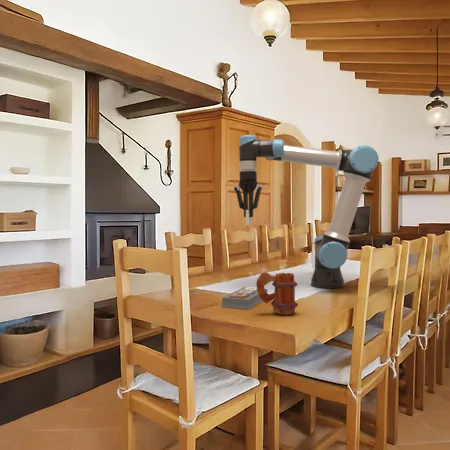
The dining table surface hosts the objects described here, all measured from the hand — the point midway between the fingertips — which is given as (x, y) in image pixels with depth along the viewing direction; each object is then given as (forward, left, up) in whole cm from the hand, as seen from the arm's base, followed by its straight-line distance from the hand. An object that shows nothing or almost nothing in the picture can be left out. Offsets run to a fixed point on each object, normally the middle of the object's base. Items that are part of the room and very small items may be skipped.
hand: (248, 224), depth 202 cm
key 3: (-7, +29, -28) cm, 40 cm away
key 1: (-7, +16, -28) cm, 32 cm away
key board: (-7, +22, -29) cm, 37 cm away
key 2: (-7, +22, -28) cm, 36 cm away
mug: (-24, +35, -30) cm, 52 cm away
